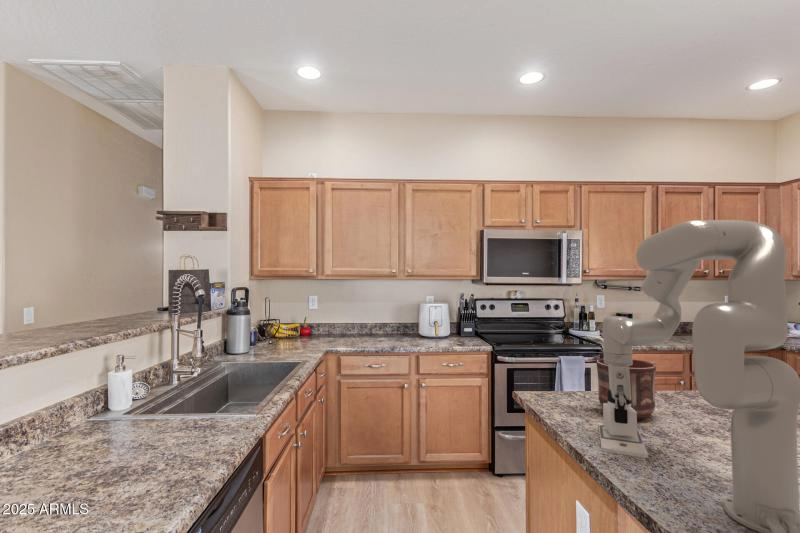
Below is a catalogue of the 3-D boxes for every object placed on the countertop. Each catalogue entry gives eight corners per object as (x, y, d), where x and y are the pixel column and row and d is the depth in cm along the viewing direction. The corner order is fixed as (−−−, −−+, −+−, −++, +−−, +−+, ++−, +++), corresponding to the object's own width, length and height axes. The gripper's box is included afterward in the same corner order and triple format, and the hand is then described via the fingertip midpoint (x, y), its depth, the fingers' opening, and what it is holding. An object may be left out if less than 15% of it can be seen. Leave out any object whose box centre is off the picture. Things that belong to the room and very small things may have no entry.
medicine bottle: (638, 437, 111) (636, 394, 111) (610, 435, 112) (609, 393, 113) (628, 427, 118) (627, 387, 118) (603, 426, 119) (602, 386, 120)
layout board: (648, 458, 102) (648, 453, 102) (601, 451, 107) (601, 446, 107) (637, 430, 120) (637, 426, 120) (598, 425, 125) (598, 421, 125)
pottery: (645, 429, 121) (644, 371, 122) (588, 414, 135) (587, 361, 135) (665, 416, 132) (663, 363, 133) (610, 403, 146) (609, 355, 146)
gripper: (636, 365, 106) (638, 430, 106) (628, 353, 122) (630, 410, 122) (605, 363, 109) (607, 426, 109) (602, 352, 125) (603, 407, 125)
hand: (619, 417), depth 115 cm, fingers closed on medicine bottle, 8 cm apart
